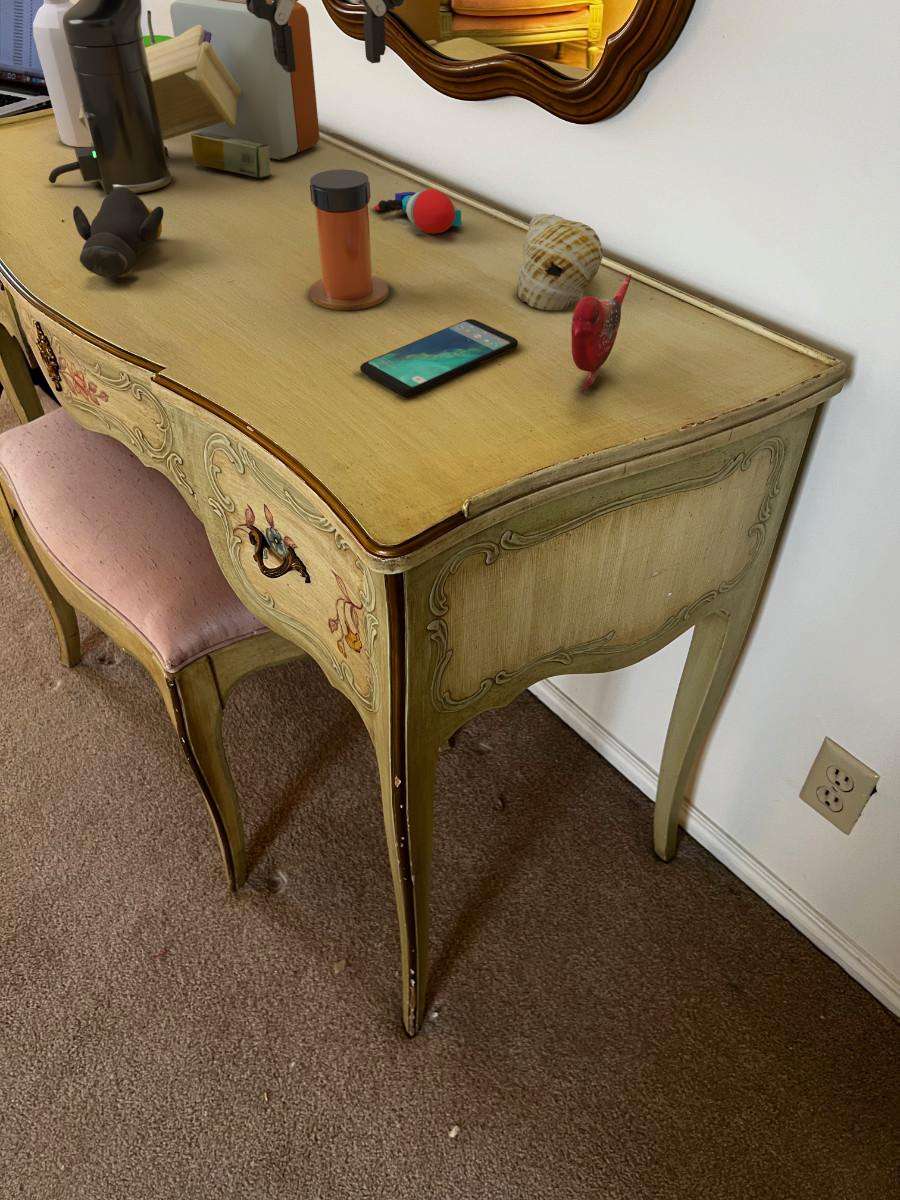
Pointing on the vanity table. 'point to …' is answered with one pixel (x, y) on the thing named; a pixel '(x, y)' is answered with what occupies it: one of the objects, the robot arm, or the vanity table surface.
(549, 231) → the seashell
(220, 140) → the medication box
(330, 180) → the lid
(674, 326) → the vanity table surface
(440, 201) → the toy figure
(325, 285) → the jar
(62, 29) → the soap bottle
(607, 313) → the decorative bird figurine
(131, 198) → the toy
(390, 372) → the smartphone
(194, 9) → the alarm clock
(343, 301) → the coaster
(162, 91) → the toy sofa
